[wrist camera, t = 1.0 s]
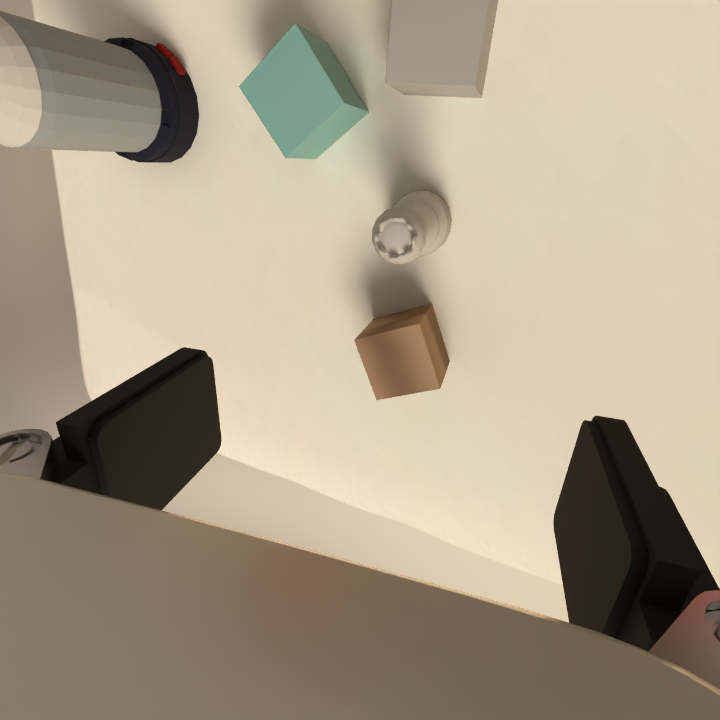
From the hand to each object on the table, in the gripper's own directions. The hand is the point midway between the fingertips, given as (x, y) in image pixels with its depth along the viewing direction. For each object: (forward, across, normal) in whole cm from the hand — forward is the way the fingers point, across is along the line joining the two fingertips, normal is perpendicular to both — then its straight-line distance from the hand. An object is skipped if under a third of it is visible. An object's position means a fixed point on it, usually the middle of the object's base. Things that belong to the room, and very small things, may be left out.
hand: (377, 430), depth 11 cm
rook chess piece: (+24, +3, -2) cm, 24 cm away
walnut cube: (+24, +2, +7) cm, 25 cm away
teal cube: (+24, +10, -10) cm, 28 cm away
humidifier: (+25, +25, -9) cm, 37 cm away
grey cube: (+24, +2, -12) cm, 27 cm away
